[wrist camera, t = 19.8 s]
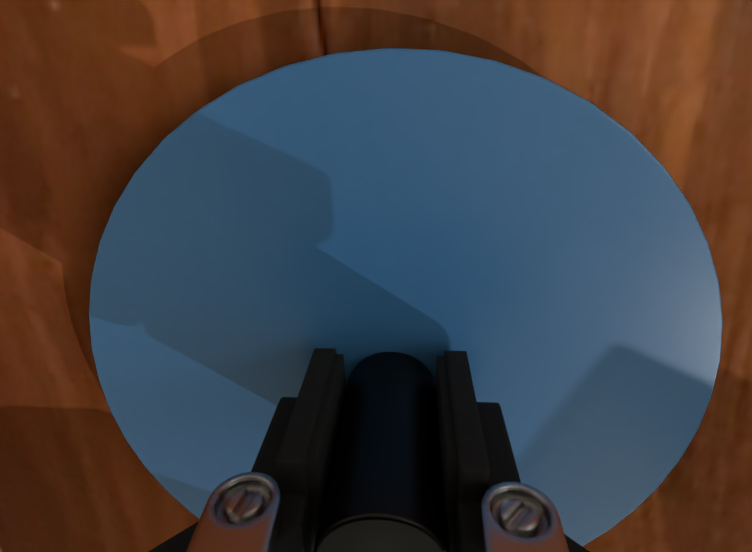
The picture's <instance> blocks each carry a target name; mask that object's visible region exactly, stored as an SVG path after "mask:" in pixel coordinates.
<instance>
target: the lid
mask: <svg viewBox="0 0 752 552" xmlns="http://www.w3.org/2000/svg"><path fill="white" fill-rule="evenodd" d="M89 323H90V335H91V348H92V352H93V357H94V361H95V365H96V370H97V374H98V378H99V382H100V385H101V387H102V390H103V392H104V395H105V398H106V400H107V403H108V406H109V408H110V411H111V413H112V415H113V417H114V418H115V420H116V422H117V424H118V426H119V428H120V430H121V431H122V433H123V435H124V437H125V439H126V441H127V442H128V443H129V445H130V446H131V448H132V449H133V451H134V452H135V453H136V455H137V456H138V458H139V459H140V460H141V462H142V463H143V465H144V466H145V467H146V468H147V470H148V471H149V472H150V473H151V474H152V475H153V476H154V477H155V479H156V480H157V481H158V482H159V483H160V484H161V485H162V486H163V488H164V489H165V490H166V491H167V492H168V493H169V494H171V495H172V496H173V497H174V498H175V499H176V500H177V501H178V502H179V503H181V504H182V505H183V506H184V507H185V508H186V509H187V510H188V511H189V512H191V513H192V514H193V515H195V516H196V517H198V518H199V519H200V517H201V515H202V512H203V510H204V507H205V505H206V503H207V500H208V498H209V497H210V495H211V493H212V492H213V490H214V489H215V488H216V487H217V486H219V485H220V484H221V483H222V482H223V481H225V480H227V479H228V478H230V477H232V476H235V475H238V474H240V473H246V472H251V470H252V468H253V465H254V463H255V460H256V458H257V455H258V453H259V450H260V448H261V445H262V443H263V440H264V438H265V435H266V433H267V430H268V428H269V425H270V423H271V420H272V418H273V415H274V413H275V410H276V408H277V405H278V403H279V401H280V399H281V398H282V397H298V394H299V391H300V388H301V385H302V383H303V380H304V377H305V374H306V371H307V368H308V365H309V363H310V360H311V357H312V354H313V351H314V349H315V348H334V349H336V352H337V354H343V355H344V366H345V383H346V392H345V397H344V402H343V407H342V412H341V417H340V422H339V427H338V432H337V436H336V441H335V446H334V451H333V456H332V461H331V466H330V471H329V476H328V481H327V486H326V491H325V495H324V500H323V505H322V510H321V515H320V520H319V525H318V530H317V535H316V540H315V545H314V550H313V552H450V549H449V537H448V525H447V518H446V515H445V504H444V491H443V478H442V465H441V453H440V440H439V427H438V414H437V402H436V362H437V356H444V355H445V351H466V352H467V356H468V361H469V366H470V371H471V376H472V381H473V386H474V391H475V396H476V401H477V402H497V403H499V404H500V407H501V410H502V414H503V417H504V421H505V425H506V429H507V432H508V436H509V440H510V443H511V447H512V451H513V455H514V458H515V462H516V466H517V469H518V473H519V477H520V481H521V483H525V484H527V485H530V486H532V487H534V488H537V489H538V490H539V491H541V492H542V493H544V494H545V495H546V496H547V497H548V498H549V499H550V500H551V501H552V502H553V504H554V505H555V507H556V509H557V512H558V514H559V517H560V520H561V524H562V527H563V531H564V534H565V535H567V536H568V537H569V538H571V539H572V540H574V541H575V542H576V543H578V544H579V545H581V546H584V545H585V544H587V543H589V542H590V541H592V540H594V539H595V538H597V537H598V536H600V535H602V534H603V533H605V532H607V531H608V530H610V529H611V528H612V527H614V526H615V525H616V524H617V523H619V522H620V521H621V520H623V519H624V518H625V517H626V516H628V515H629V514H630V513H632V512H633V511H634V510H635V509H636V508H637V507H638V506H639V505H640V504H641V503H642V502H644V501H645V500H646V499H647V498H648V497H649V496H650V495H651V494H652V493H653V492H654V491H655V490H656V489H657V488H658V487H659V486H660V484H661V483H662V482H663V481H664V479H665V478H666V477H667V476H668V474H669V473H670V472H671V470H672V469H673V468H674V467H675V465H676V464H677V463H678V462H679V460H680V459H681V457H682V456H683V454H684V452H685V451H686V449H687V447H688V445H689V444H690V442H691V440H692V439H693V437H694V435H695V433H696V432H697V430H698V428H699V426H700V423H701V421H702V418H703V416H704V413H705V411H706V409H707V406H708V404H709V401H710V399H711V396H712V392H713V388H714V384H715V380H716V376H717V371H718V367H719V363H720V355H721V341H722V327H723V319H722V309H721V298H720V288H719V281H718V278H717V274H716V270H715V267H714V263H713V259H712V256H711V252H710V248H709V245H708V242H707V240H706V238H705V235H704V233H703V231H702V229H701V227H700V225H699V222H698V220H697V218H696V216H695V214H694V212H693V210H692V207H691V205H690V203H689V202H688V201H687V199H686V198H685V196H684V195H683V193H682V192H681V190H680V189H679V187H678V186H677V185H676V183H675V182H674V180H673V179H672V177H671V176H670V174H669V173H668V171H667V170H666V169H665V167H664V166H663V165H662V164H661V163H660V162H659V161H658V160H657V159H656V158H655V157H654V156H653V155H652V154H651V152H650V151H649V150H648V149H647V148H646V147H645V146H644V145H643V144H642V143H641V142H640V141H639V140H638V139H637V138H636V137H635V136H634V135H633V134H632V133H631V132H630V131H629V130H627V129H626V128H625V127H623V126H622V125H621V124H619V123H618V122H617V121H615V120H614V119H613V118H611V117H610V116H609V115H607V114H606V113H605V112H603V111H602V110H601V109H599V108H598V107H597V106H595V105H594V104H593V103H591V102H589V101H588V100H586V99H584V98H582V97H580V96H578V95H576V94H574V93H573V92H571V91H569V90H567V89H565V88H563V87H561V86H559V85H558V84H556V83H554V82H552V81H550V80H548V79H546V78H544V77H541V76H538V75H535V74H533V73H530V72H527V71H524V70H521V69H518V68H516V67H513V66H510V65H507V64H504V63H501V62H499V61H496V60H491V59H486V58H481V57H475V56H470V55H465V54H460V53H455V52H450V51H444V50H430V49H408V48H379V49H369V50H359V51H349V52H339V53H333V54H329V55H325V56H321V57H317V58H313V59H309V60H305V61H301V62H297V63H293V64H289V65H285V66H283V67H280V68H278V69H275V70H273V71H271V72H268V73H266V74H263V75H261V76H259V77H256V78H254V79H251V80H249V81H247V82H244V83H242V84H239V85H238V86H236V87H234V88H233V89H231V90H229V91H228V92H226V93H224V94H223V95H221V96H219V97H218V98H216V99H215V100H213V101H211V102H210V103H208V104H206V105H205V106H203V107H201V108H200V109H198V110H197V111H196V112H195V113H193V114H192V115H191V116H190V117H189V118H187V119H186V120H185V121H184V122H183V123H182V124H180V125H179V126H178V127H177V128H176V129H174V130H173V131H172V132H171V133H170V134H169V135H167V136H166V137H165V138H164V139H163V140H162V141H161V142H160V143H159V145H158V146H157V147H156V148H155V149H154V150H153V152H152V153H151V154H150V155H149V156H148V157H147V159H146V160H145V161H144V162H143V163H142V164H141V166H140V167H139V168H138V169H137V170H136V171H135V173H134V175H133V176H132V178H131V180H130V181H129V183H128V184H127V186H126V188H125V189H124V191H123V193H122V194H121V196H120V198H119V199H118V201H117V202H116V204H115V206H114V208H113V211H112V213H111V215H110V218H109V220H108V223H107V225H106V228H105V230H104V233H103V235H102V238H101V240H100V242H99V247H98V251H97V255H96V260H95V264H94V268H93V273H92V277H91V288H90V303H89Z"/></svg>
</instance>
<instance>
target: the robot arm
mask: <svg viewBox="0 0 752 552" xmlns="http://www.w3.org/2000/svg"><path fill="white" fill-rule="evenodd" d="M345 392H346V383H345V366H344V355H343V354H337V352H336V349H334V348H315V349H314V351H313V354H312V357H311V360H310V363H309V365H308V368H307V371H306V374H305V377H304V380H303V383H302V385H301V388H300V391H299V394H298V397H282V398H281V399H280V401H279V403H278V405H277V408H276V410H275V413H274V415H273V418H272V420H271V423H270V425H269V428H268V430H267V433H266V435H265V438H264V440H263V443H262V445H261V448H260V450H259V453H258V455H257V458H256V460H255V463H254V465H253V468H252V470H251V472H246V473H240V474H238V475H235V476H232V477H230V478H228V479H227V480H225V481H223V482H222V483H221V484H220V485H219V486H217V487H216V488H215V489H214V490H213V492H212V493H211V495H210V497H209V498H208V500H207V503H206V505H205V507H204V510H203V512H202V515H201V517H200V519H199V522H197V523H195V524H194V525H192V526H190V527H189V528H187V529H185V530H184V531H182V532H180V533H179V534H177V535H175V536H174V537H172V538H170V539H169V540H167V541H165V542H164V543H162V544H160V545H159V546H157V547H155V548H154V549H152V550H150V551H149V552H313V550H314V545H315V540H316V535H317V530H318V525H319V520H320V515H321V510H322V505H323V500H324V495H325V491H326V486H327V481H328V476H329V471H330V466H331V461H332V456H333V451H334V446H335V441H336V436H337V432H338V427H339V422H340V417H341V412H342V407H343V402H344V397H345ZM436 402H437V414H438V427H439V440H440V453H441V465H442V478H443V491H444V504H445V515H446V518H447V525H448V537H449V549H450V552H589V551H588V550H586V549H585V548H583V547H582V546H581V545H579V544H578V543H576V542H575V541H574V540H572V539H571V538H569V537H568V536H567V535H565V534H564V531H563V527H562V524H561V520H560V517H559V514H558V512H557V509H556V507H555V505H554V504H553V502H552V501H551V500H550V499H549V498H548V497H547V496H546V495H545V494H544V493H542V492H541V491H539V490H538V489H537V488H534V487H532V486H530V485H527V484H525V483H521V481H520V477H519V473H518V469H517V466H516V462H515V458H514V455H513V451H512V447H511V443H510V440H509V436H508V432H507V429H506V425H505V421H504V417H503V414H502V410H501V407H500V404H499V403H497V402H477V401H476V396H475V391H474V386H473V381H472V376H471V371H470V366H469V361H468V356H467V352H466V351H445V355H444V356H437V362H436Z"/></svg>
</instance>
